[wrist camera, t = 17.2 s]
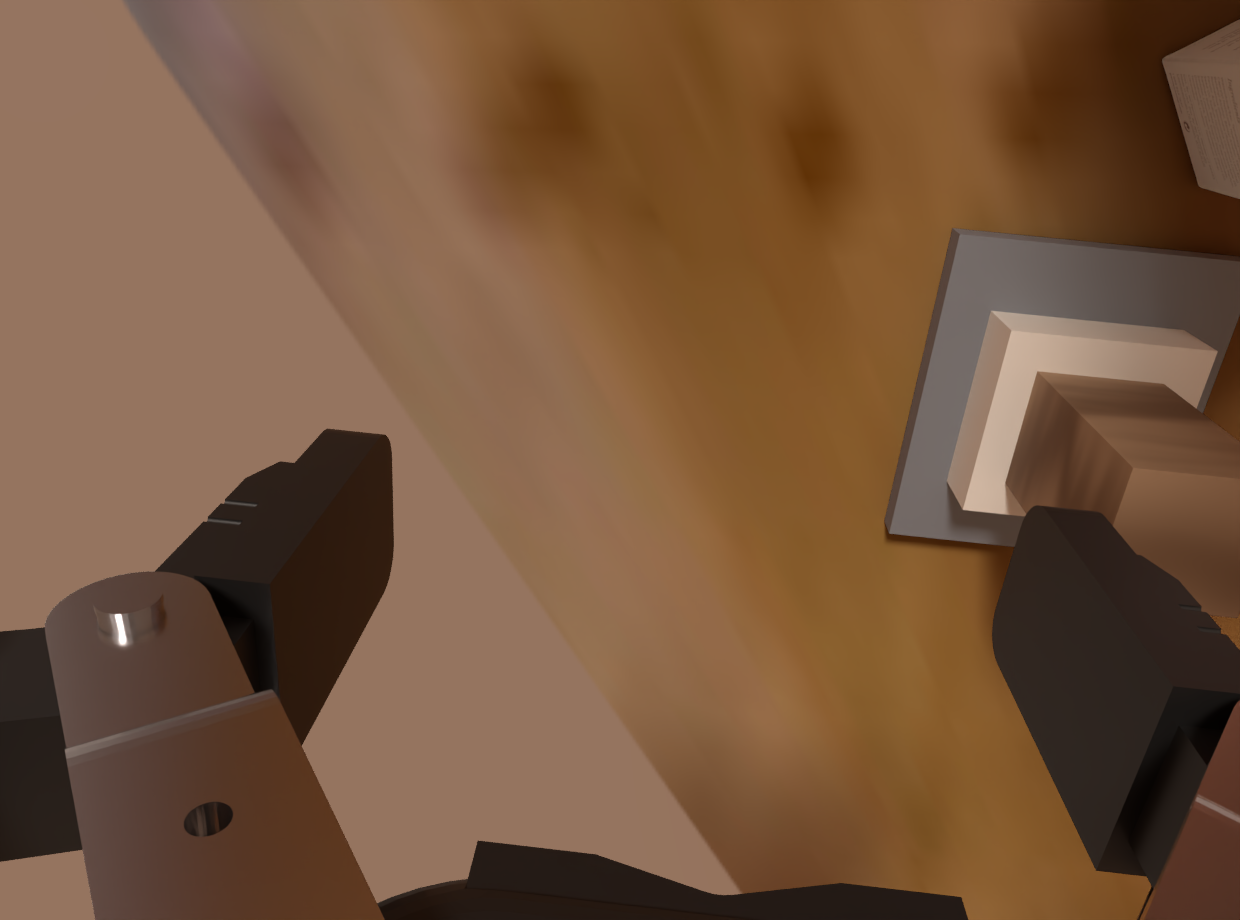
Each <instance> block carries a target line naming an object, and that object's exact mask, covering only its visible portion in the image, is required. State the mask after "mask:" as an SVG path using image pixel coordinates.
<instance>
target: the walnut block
mask: <svg viewBox="0 0 1240 920" xmlns="http://www.w3.org/2000/svg"><path fill="white" fill-rule="evenodd" d="M1005 483H1006V485H1007V486H1008V488H1009V489H1010V491H1011V492H1012V494H1013V495H1014V497H1015V498H1016V500H1017V501H1018V503H1019V504H1020V506H1021V507H1022V508H1023V510H1024V511H1025V513H1026V514H1027V512H1028V511H1029V510H1030V509H1031V508H1032V507H1033V506H1036V505H1040V506H1049V507H1059V508H1068V509H1078V510H1087V511H1096V512H1100V513H1102V514H1103V515H1104V516H1105V517H1106V518H1107V520H1108V521H1109V522H1110V523H1111V524H1112V526H1113V527H1114V528H1115V529H1116V530H1117V532H1118V533H1119V534H1120V535H1121V536H1122V538H1123V539H1124V540H1125V541H1126V542H1127V544H1128V545H1129V546H1130V547H1131V548H1132V550H1133V551H1134V552H1135V553H1136V554H1137V555H1142V556H1143V557H1145V558H1146V559H1148V560H1149V561H1151V562H1152V563H1154V564H1155V565H1157V566H1158V567H1160V568H1161V569H1163V570H1164V571H1166V572H1167V573H1169V574H1170V575H1172V576H1173V577H1175V578H1176V579H1178V580H1179V581H1180V582H1181V583H1182V585H1183V586H1184V587H1185V588H1186V589H1187V590H1188V592H1189V593H1190V594H1191V595H1192V596H1193V597H1194V598H1195V600H1196V601H1197V602H1198V603H1199V604H1200V605H1201V606H1202V608H1201V611H1202V612H1207V613H1208V614H1209V615H1212V616H1221V617H1231V618H1238V616H1239V613H1240V442H1239V441H1238V440H1237V439H1235V438H1234V437H1233V436H1231V435H1230V434H1229V433H1227V432H1226V431H1225V430H1224V429H1222V428H1221V427H1220V426H1218V425H1217V424H1216V423H1214V422H1213V421H1212V420H1210V419H1209V418H1208V417H1207V416H1205V415H1204V414H1203V413H1201V412H1200V411H1199V410H1197V409H1196V408H1195V407H1194V406H1192V405H1191V404H1190V403H1188V402H1187V401H1186V400H1184V399H1183V398H1182V397H1180V396H1179V395H1178V394H1177V393H1175V392H1174V391H1173V390H1171V389H1170V388H1169V387H1167V386H1166V385H1165V384H1160V383H1150V382H1140V381H1130V380H1120V379H1110V378H1100V377H1090V376H1080V375H1070V374H1060V373H1050V372H1040V371H1037V374H1036V377H1035V381H1034V384H1033V388H1032V391H1031V395H1030V398H1029V402H1028V405H1027V409H1026V412H1025V416H1024V419H1023V423H1022V426H1021V430H1020V433H1019V437H1018V440H1017V443H1016V447H1015V450H1014V454H1013V457H1012V461H1011V464H1010V468H1009V471H1008V475H1007V478H1006V482H1005Z"/></svg>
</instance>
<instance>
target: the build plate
mask: <svg viewBox="0 0 1240 920" xmlns="http://www.w3.org/2000/svg"><path fill="white" fill-rule="evenodd" d="M1239 316H1240V256H1230V255H1220V254H1210V253H1200V252H1189V251H1179V250H1169V249H1159V248H1148V247H1138V246H1128V245H1118V244H1108V243H1097V242H1087V241H1077V240H1067V239H1057V238H1046V237H1036V236H1026V235H1016V234H1006V233H995V232H985V231H975V230H965V229H954V228H953V229H952V233H951V237H950V242H949V246H948V250H947V254H946V259H945V263H944V267H943V272H942V276H941V280H940V285H939V289H938V293H937V297H936V302H935V306H934V310H933V315H932V319H931V323H930V328H929V332H928V336H927V340H926V345H925V349H924V353H923V358H922V362H921V366H920V371H919V375H918V379H917V383H916V388H915V392H914V396H913V401H912V405H911V409H910V414H909V418H908V422H907V426H906V431H905V435H904V439H903V444H902V448H901V452H900V457H899V461H898V465H897V469H896V474H895V478H894V482H893V487H892V491H891V495H890V500H889V504H888V508H887V512H886V517H885V524H886V527H887V529H888V532H889V534H898V535H907V536H917V537H926V538H935V539H945V540H954V541H964V542H973V543H982V544H992V545H1001V546H1011V547H1015V544H1016V541H1017V537H1018V534H1019V531H1020V528H1021V525H1022V522H1023V520H1024V517H1025V515H1026V513H1025V511H1024V510H1023V508H1022V507H1021V506H1020V504H1019V503H1018V501H1017V500H1016V498H1015V497H1014V495H1013V494H1012V492H1011V491H1010V489H1009V488H1008V486H1007V485H1006V483H1005V482H1006V478H1007V475H1008V471H1009V468H1010V464H1011V461H1012V457H1013V454H1014V450H1015V447H1016V443H1017V440H1018V437H1019V433H1020V430H1021V426H1022V423H1023V419H1024V416H1025V412H1026V409H1027V405H1028V402H1029V398H1030V395H1031V391H1032V388H1033V384H1034V381H1035V377H1036V374H1037V371H1040V372H1050V373H1060V374H1070V375H1080V376H1090V377H1100V378H1110V379H1120V380H1130V381H1140V382H1150V383H1160V384H1165V385H1166V386H1167V387H1169V388H1170V389H1171V390H1173V391H1174V392H1175V393H1177V394H1178V395H1179V396H1180V397H1182V398H1183V399H1184V400H1186V401H1187V402H1188V403H1190V404H1191V405H1192V406H1194V407H1195V408H1196V409H1197V410H1199V411H1200V412H1201V413H1203V412H1204V409H1205V406H1206V404H1207V401H1208V398H1209V396H1210V393H1211V390H1212V388H1213V385H1214V382H1215V380H1216V377H1217V374H1218V372H1219V369H1220V367H1221V364H1222V361H1223V359H1224V356H1225V353H1226V351H1227V348H1228V345H1229V343H1230V340H1231V337H1232V335H1233V332H1234V329H1235V327H1236V324H1237V321H1238V319H1239Z"/></svg>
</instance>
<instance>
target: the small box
mask: <svg viewBox="0 0 1240 920" xmlns="http://www.w3.org/2000/svg"><path fill="white" fill-rule="evenodd" d="M1162 63H1163V66H1164V69H1165V72H1166V76H1167V79H1168V82H1169V86H1170V89H1171V93H1172V96H1173V100H1174V103H1175V107H1176V110H1177V114H1178V117H1179V121H1180V124H1181V128H1182V131H1183V135H1184V138H1185V141H1186V145H1187V148H1188V152H1189V155H1190V158H1191V162H1192V165H1193V169H1194V172H1195V176H1196V179H1197V183H1198V186H1199V187H1201V188H1203V189H1207V190H1210V191H1214V192H1217V193H1220V194H1223V195H1227V196H1230V197H1234V198H1238V199H1240V19H1239V20H1237V21H1235V22H1233V23H1231V24H1229V25H1227V26H1225V27H1224V28H1222V29H1220V30H1218V31H1216V32H1214V33H1212V34H1210V35H1208V36H1206V37H1204V38H1202V39H1200V40H1198V41H1196V42H1194V43H1192V44H1190V45H1188V46H1186V47H1184V48H1182V49H1180V50H1178V51H1176V52H1174V53H1172V54H1170V55H1167V56H1166V57H1164V58H1163V59H1162Z"/></svg>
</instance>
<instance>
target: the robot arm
mask: <svg viewBox="0 0 1240 920" xmlns="http://www.w3.org/2000/svg"><path fill="white" fill-rule="evenodd" d="M392 488H393V486H392V452H391V446H390V441H389V439H388V437H387V436H386V435H382V434H372V433H363V432H353V431H344V430H335V429H326V430H324V431H323V432H322V433H321V434H320V435H319V437H318V438H317V439H316V440H315V441H314V442H313V443H312V445H310V447H309V448H308V449H307V450H306V451H305V452H304V453H303V454H302V455H301V457H300V458H299V459H298V460H297V461H296V462H295V463H288V462H278V463H276V464H274V465H272V466H270V467H268V468H266V469H264V470H261V471H259V472H257V473H255V474H253V475H251V476H249V477H247V478H245V479H244V481H242V482H241V484H240V485H239V486H238V487H237V488H236V489H235V490H234V491H233V492H232V493H231V494H230V495H229V496H228V497H227V498H226V499H225V504H220V505H219V506H218V507H217V508H216V509H215V510H214V511H213V512H212V513H211V515H209V516H208V521H207V522H203V523H202V524H201V525H200V526H199V527H198V528H197V529H196V530H195V531H194V532H193V533H192V534H191V535H190V536H189V537H188V538H187V539H186V540H185V541H184V542H183V543H182V544H181V545H180V546H179V547H178V548H177V549H176V550H175V551H174V552H173V553H172V554H171V555H170V556H169V558H168V559H166V560H165V562H164V563H163V564H162V565H161V566H160V567H159V568H158V569H157V570H156V571H155V572H138V573H130V574H124V575H118V576H115V577H110V578H106V579H104V580H101V581H98V582H95V583H92V584H90V585H87V586H85V587H83V588H81V589H79V590H77V591H75V592H74V593H72V594H70V595H69V596H67V597H66V598H64V599H63V600H62V601H60V602H59V603H58V604H57V605H56V606H55V608H53V610H52V611H51V612H50V614H49V615H48V617H47V620H46V623H45V627H44V628H36V629H26V630H15V631H3V632H0V862H1V861H8V860H15V859H22V858H28V857H35V856H42V855H49V854H56V853H63V852H70V851H76V850H83V854H84V860H85V865H86V871H87V876H88V882H89V887H90V893H91V898H92V903H93V909H94V914H95V920H968V918H967V915H966V911H965V908H964V905H963V902H962V898H961V897H955V896H946V895H938V894H929V893H921V892H912V891H904V890H895V889H887V888H878V887H870V886H861V885H852V884H844V883H838V884H829V885H820V886H811V887H802V888H793V889H783V890H774V891H765V892H756V893H747V894H738V895H715V894H711V893H707V892H704V891H701V890H698V889H695V888H692V887H689V886H686V885H683V884H681V883H677V882H675V881H672V880H669V879H666V878H663V877H660V876H657V875H654V874H651V873H648V872H645V871H642V870H640V869H637V868H634V867H631V866H628V865H625V864H622V863H619V862H616V861H613V860H610V859H607V858H604V857H601V856H599V855H595V854H587V853H578V852H570V851H561V850H553V849H544V848H536V847H528V846H519V845H510V844H502V843H493V842H485V841H478V842H477V846H476V850H475V854H474V858H473V862H472V865H471V869H470V873H469V877H468V879H466V880H457V881H449V882H445V883H440V884H436V885H431V886H427V887H422V888H418V889H415V890H412V891H409V892H406V893H403V894H400V895H397V896H394V897H391V898H389V899H386V900H384V901H382V902H379V903H376V901H375V898H374V896H373V894H372V892H371V890H370V888H369V886H368V884H367V882H366V880H365V878H364V875H363V873H362V871H361V869H360V867H359V865H358V863H357V861H356V859H355V857H354V855H353V852H352V850H351V848H350V846H349V844H348V842H347V840H346V838H345V836H344V834H343V832H342V830H341V827H340V825H339V823H338V821H337V819H336V817H335V815H334V813H333V811H332V809H331V807H330V805H329V802H328V800H327V799H326V796H325V794H324V792H323V790H322V788H321V786H320V784H319V782H318V780H317V777H316V775H315V773H314V771H313V769H312V767H311V765H310V763H309V761H308V759H307V756H306V754H305V752H304V750H303V748H302V744H303V742H304V740H305V739H306V737H307V735H308V733H309V731H310V729H311V727H312V725H313V724H314V722H315V720H316V718H317V716H318V714H319V713H320V710H321V709H322V707H323V705H324V703H325V701H326V699H327V698H328V696H329V694H330V692H331V690H332V688H333V686H334V684H335V683H336V681H337V679H338V677H339V675H340V673H341V672H342V670H343V668H344V666H345V664H346V662H347V660H348V659H349V657H350V655H351V653H352V651H353V649H354V647H355V646H356V644H357V642H358V640H359V638H360V636H361V634H362V632H363V631H364V628H365V627H366V625H367V623H368V621H369V619H370V618H371V616H372V614H373V612H374V610H375V608H376V606H377V605H378V603H379V601H380V599H381V597H382V595H383V593H384V591H385V589H386V586H387V583H388V580H389V576H390V572H391V567H392V560H393V547H394V536H393V489H392ZM1201 608H1202V606H1201V605H1200V604H1199V603H1198V602H1197V601H1196V600H1195V598H1194V597H1193V596H1192V595H1191V594H1190V593H1189V592H1188V590H1187V589H1186V588H1185V587H1184V586H1183V585H1182V583H1181V582H1180V581H1179V580H1178V579H1176V578H1175V577H1173V576H1172V575H1170V574H1169V573H1167V572H1166V571H1164V570H1163V569H1161V568H1160V567H1158V566H1157V565H1155V564H1154V563H1152V562H1151V561H1149V560H1148V559H1146V558H1145V557H1143V556H1142V555H1137V554H1136V553H1135V552H1134V551H1133V550H1132V548H1131V547H1130V546H1129V545H1128V544H1127V542H1126V541H1125V540H1124V539H1123V538H1122V536H1121V535H1120V534H1119V533H1118V532H1117V530H1116V529H1115V528H1114V527H1113V526H1112V524H1111V523H1110V522H1109V521H1108V520H1107V518H1106V517H1105V516H1104V515H1103V514H1102V513H1100V512H1096V511H1087V510H1078V509H1068V508H1059V507H1049V506H1040V505H1036V506H1033V507H1032V508H1031V509H1030V510H1029V511H1028V512H1027V514H1026V515H1025V517H1024V520H1023V522H1022V525H1021V528H1020V531H1019V534H1018V537H1017V541H1016V544H1015V547H1014V551H1013V554H1012V557H1011V560H1010V564H1009V567H1008V570H1007V574H1006V577H1005V580H1004V583H1003V587H1002V590H1001V593H1000V597H999V600H998V603H997V606H996V610H995V614H994V619H993V629H992V641H993V649H994V654H995V658H996V661H997V663H998V666H999V668H1000V670H1001V672H1002V674H1003V676H1004V678H1005V680H1006V682H1007V684H1008V687H1009V689H1010V691H1011V693H1012V695H1013V697H1014V699H1015V701H1016V703H1017V705H1018V707H1019V710H1020V712H1021V714H1022V716H1023V718H1024V720H1025V722H1026V724H1027V726H1028V728H1029V731H1030V733H1031V735H1032V737H1033V739H1034V741H1035V743H1036V745H1037V747H1038V749H1039V752H1040V754H1041V756H1042V758H1043V760H1044V762H1045V764H1046V766H1047V768H1048V770H1049V773H1050V775H1051V777H1052V779H1053V781H1054V783H1055V785H1056V787H1057V789H1058V791H1059V794H1060V796H1061V798H1062V800H1063V802H1064V804H1065V806H1066V808H1067V810H1068V812H1069V815H1070V817H1071V819H1072V821H1073V823H1074V825H1075V827H1076V829H1077V831H1078V833H1079V836H1080V838H1081V840H1082V842H1083V844H1084V846H1085V848H1086V850H1087V852H1088V854H1089V857H1090V859H1091V861H1092V863H1093V865H1094V867H1095V869H1096V871H1104V872H1113V873H1122V874H1130V875H1139V876H1147V878H1148V880H1149V882H1150V884H1151V886H1152V887H1151V889H1150V891H1149V893H1148V896H1147V898H1146V900H1145V902H1144V904H1143V906H1142V909H1141V911H1140V913H1139V915H1138V918H1137V920H1240V650H1239V649H1238V648H1237V647H1236V645H1235V644H1234V643H1233V642H1232V641H1231V640H1230V639H1229V637H1228V636H1227V635H1224V634H1221V628H1220V627H1219V626H1218V625H1217V624H1216V623H1215V621H1214V620H1213V619H1212V618H1211V617H1210V616H1209V614H1208V613H1207V612H1202V611H1201Z"/></svg>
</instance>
